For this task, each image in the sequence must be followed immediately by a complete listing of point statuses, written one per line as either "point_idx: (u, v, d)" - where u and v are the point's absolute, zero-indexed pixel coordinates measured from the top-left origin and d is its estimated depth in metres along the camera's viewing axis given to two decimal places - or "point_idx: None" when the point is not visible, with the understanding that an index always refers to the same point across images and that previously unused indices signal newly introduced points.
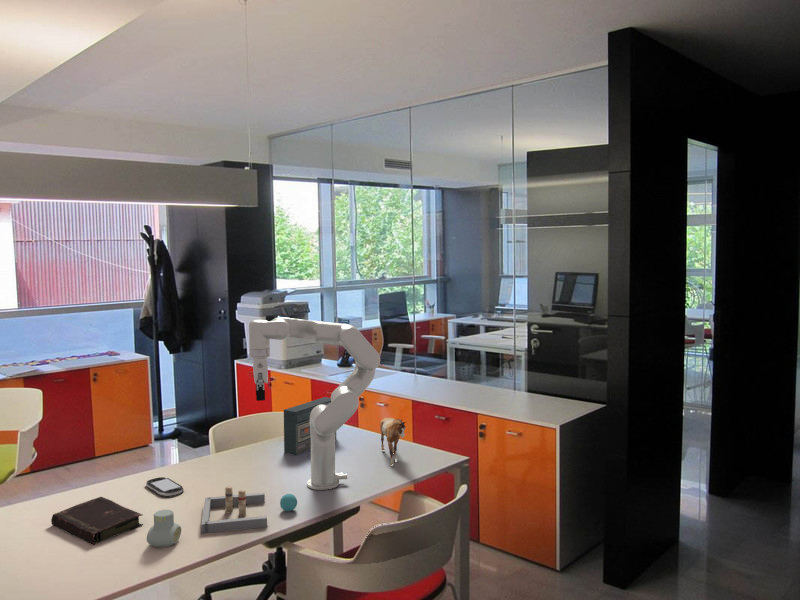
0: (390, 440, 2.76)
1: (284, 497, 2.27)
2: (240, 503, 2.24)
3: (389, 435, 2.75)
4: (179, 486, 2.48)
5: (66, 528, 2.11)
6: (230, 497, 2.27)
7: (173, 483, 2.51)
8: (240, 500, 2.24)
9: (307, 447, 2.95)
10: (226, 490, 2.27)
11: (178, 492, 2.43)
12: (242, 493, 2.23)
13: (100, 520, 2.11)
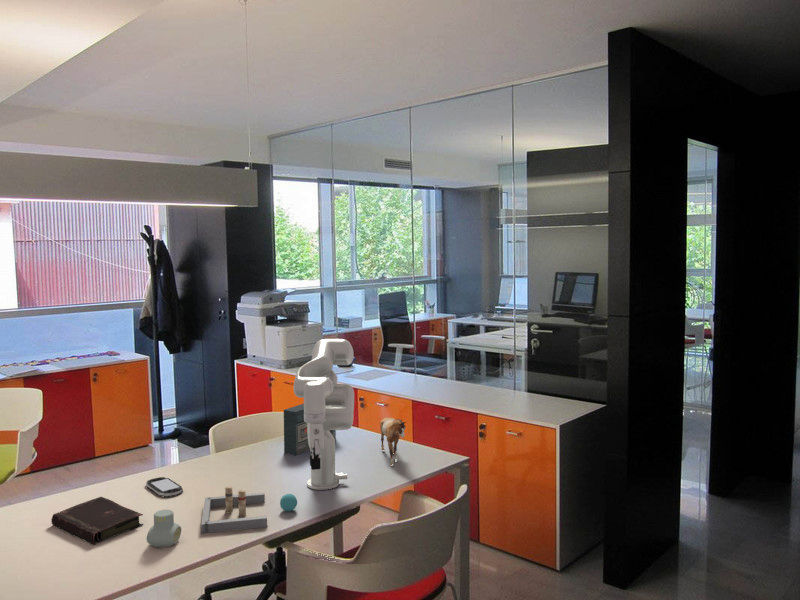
0: (390, 440, 2.76)
1: (284, 497, 2.27)
2: (240, 503, 2.24)
3: (389, 435, 2.75)
4: (178, 486, 2.47)
5: (66, 528, 2.11)
6: (230, 497, 2.27)
7: (173, 483, 2.50)
8: (240, 500, 2.24)
9: (307, 447, 2.95)
10: (226, 490, 2.27)
11: (177, 492, 2.43)
12: (242, 493, 2.23)
13: (100, 520, 2.11)
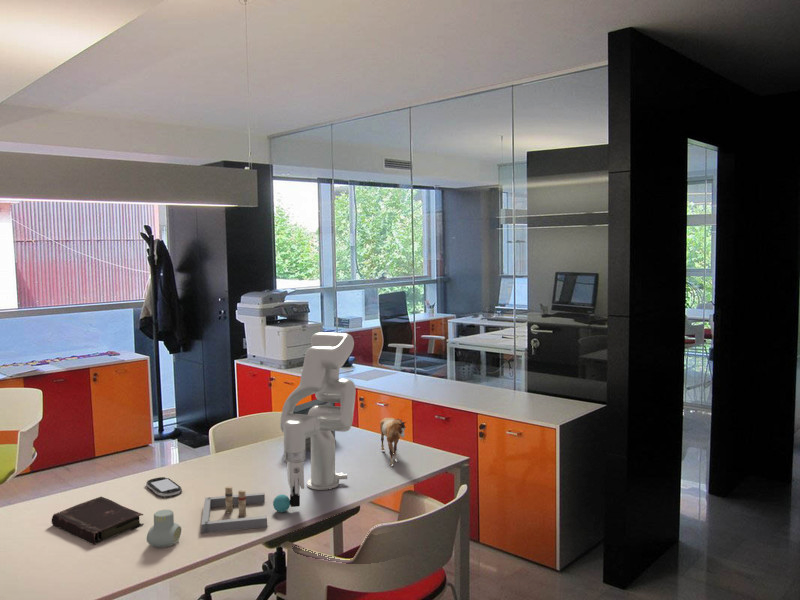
0: (390, 440, 2.76)
1: (274, 501, 2.26)
2: (240, 503, 2.24)
3: (389, 435, 2.75)
4: (178, 487, 2.47)
5: (67, 528, 2.11)
6: (230, 497, 2.27)
7: (172, 483, 2.50)
8: (240, 500, 2.24)
9: (307, 447, 2.95)
10: (226, 490, 2.27)
11: (176, 493, 2.42)
12: (242, 493, 2.23)
13: (101, 520, 2.11)
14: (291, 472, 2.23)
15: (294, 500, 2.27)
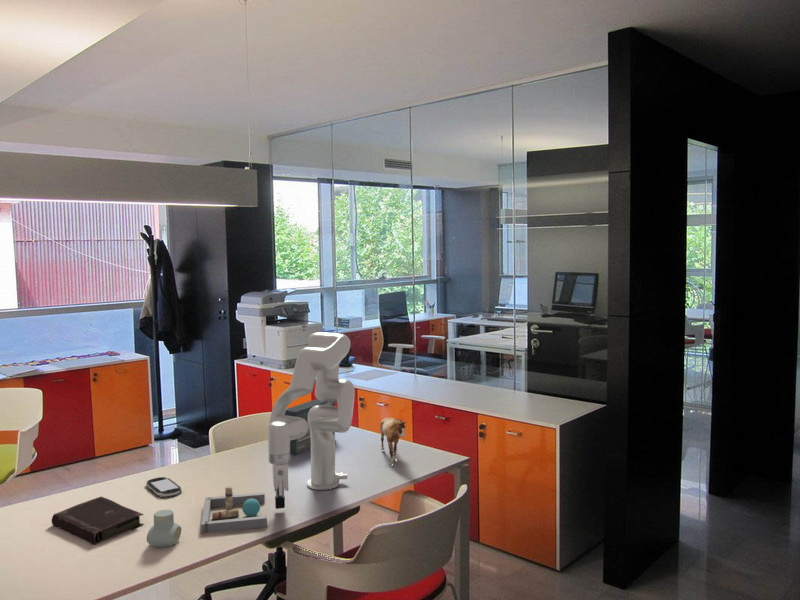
0: (390, 440, 2.76)
1: (259, 508, 2.24)
2: (224, 517, 2.22)
3: (389, 435, 2.75)
4: (177, 487, 2.47)
5: (67, 528, 2.11)
6: (230, 497, 2.27)
7: (172, 483, 2.50)
8: (221, 518, 2.22)
9: (307, 447, 2.95)
10: (226, 490, 2.27)
11: (175, 493, 2.42)
12: (214, 517, 2.20)
13: (101, 520, 2.11)
14: (275, 474, 2.22)
15: (279, 502, 2.26)
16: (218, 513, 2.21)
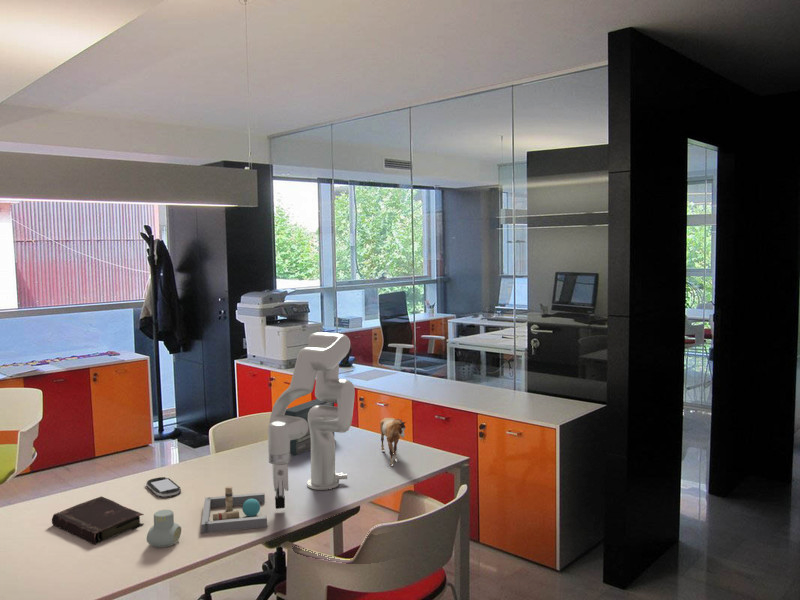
0: (390, 440, 2.76)
1: (259, 508, 2.24)
2: None
3: (389, 435, 2.75)
4: (177, 487, 2.47)
5: (67, 528, 2.11)
6: (230, 497, 2.27)
7: (172, 484, 2.50)
8: None
9: (307, 447, 2.95)
10: (226, 490, 2.27)
11: (174, 493, 2.42)
12: None
13: (101, 520, 2.11)
14: (275, 474, 2.22)
15: (279, 502, 2.26)
16: (219, 519, 2.20)
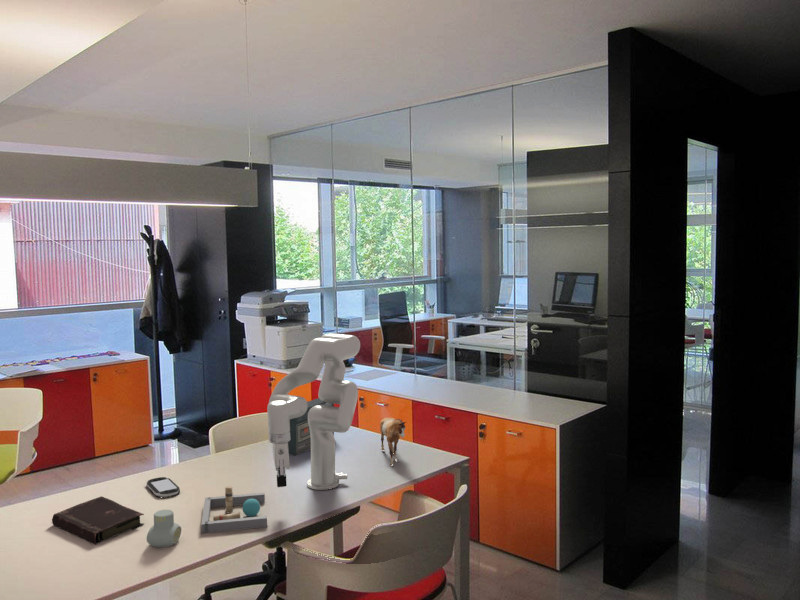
0: (390, 440, 2.76)
1: (259, 508, 2.24)
2: None
3: (389, 435, 2.75)
4: (176, 487, 2.46)
5: (67, 528, 2.11)
6: (230, 497, 2.27)
7: (172, 484, 2.50)
8: None
9: (307, 447, 2.95)
10: (226, 490, 2.27)
11: (173, 493, 2.42)
12: None
13: (101, 520, 2.11)
14: (275, 453, 2.22)
15: (280, 480, 2.27)
16: None
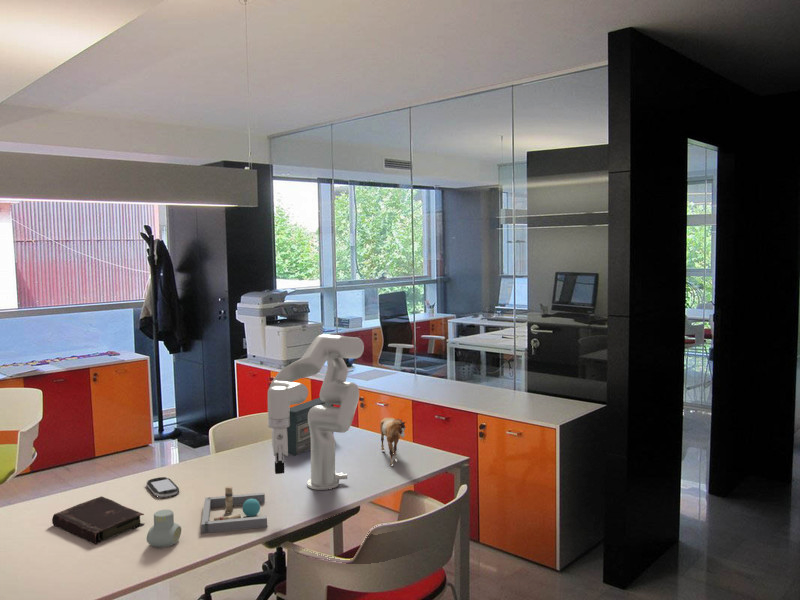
0: (390, 440, 2.76)
1: (259, 508, 2.24)
2: (226, 516, 2.18)
3: (389, 435, 2.75)
4: (175, 487, 2.46)
5: (67, 528, 2.11)
6: (230, 497, 2.27)
7: (171, 484, 2.50)
8: (222, 517, 2.18)
9: (307, 447, 2.95)
10: (226, 490, 2.27)
11: (172, 494, 2.41)
12: None
13: (101, 520, 2.11)
14: (274, 438, 2.21)
15: (278, 467, 2.25)
16: None
